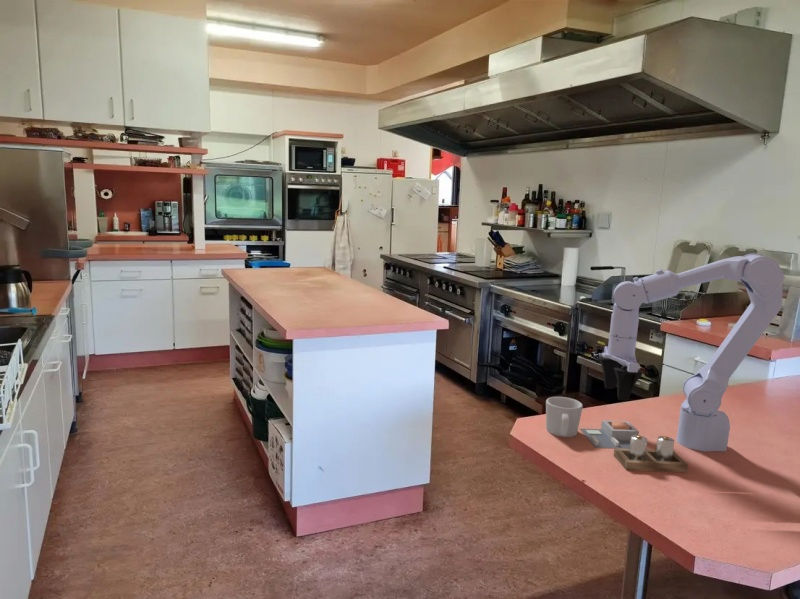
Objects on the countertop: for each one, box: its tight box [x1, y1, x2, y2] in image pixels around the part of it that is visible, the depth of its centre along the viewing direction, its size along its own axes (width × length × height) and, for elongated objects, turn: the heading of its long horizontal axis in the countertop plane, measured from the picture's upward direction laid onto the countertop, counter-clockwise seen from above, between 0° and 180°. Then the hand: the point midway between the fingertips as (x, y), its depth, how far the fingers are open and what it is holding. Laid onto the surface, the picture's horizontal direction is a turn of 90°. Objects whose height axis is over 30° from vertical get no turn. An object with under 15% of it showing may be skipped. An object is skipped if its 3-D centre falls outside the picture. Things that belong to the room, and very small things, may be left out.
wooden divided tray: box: [613, 448, 689, 473], centre depth 115 cm, size 12×6×3 cm, turn 91°
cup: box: [545, 396, 584, 438], centre depth 128 cm, size 11×8×8 cm
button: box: [612, 420, 629, 430], centre depth 129 cm, size 4×4×2 cm
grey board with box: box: [578, 419, 640, 450], centre depth 127 cm, size 11×10×3 cm
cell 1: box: [628, 434, 648, 461], centre depth 115 cm, size 3×3×6 cm
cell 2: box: [655, 435, 675, 462], centre depth 115 cm, size 3×3×6 cm
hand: (616, 393), depth 131 cm, fingers open, 7 cm apart
